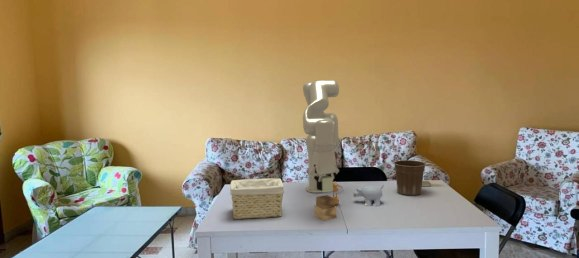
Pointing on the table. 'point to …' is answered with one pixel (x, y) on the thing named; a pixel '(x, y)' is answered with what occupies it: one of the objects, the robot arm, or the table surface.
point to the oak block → (325, 213)
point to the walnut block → (325, 202)
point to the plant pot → (409, 176)
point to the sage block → (327, 183)
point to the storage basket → (256, 198)
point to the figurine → (336, 192)
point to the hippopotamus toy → (370, 194)
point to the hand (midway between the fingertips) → (324, 188)
